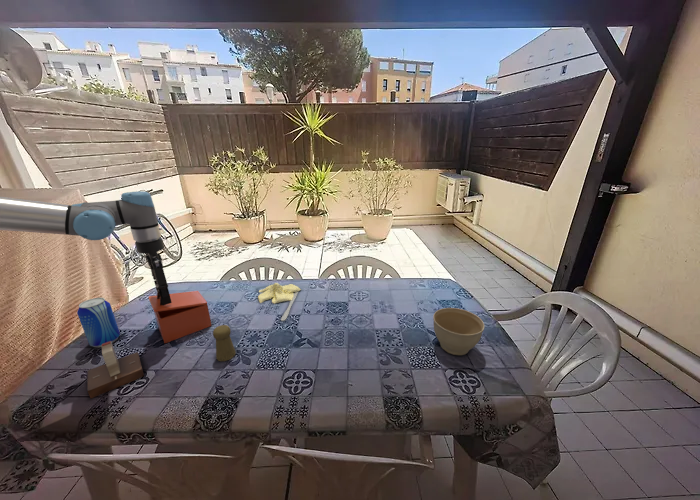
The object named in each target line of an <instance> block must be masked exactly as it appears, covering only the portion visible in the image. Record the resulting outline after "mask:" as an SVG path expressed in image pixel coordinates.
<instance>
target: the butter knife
mask: <svg viewBox="0 0 700 500" xmlns="http://www.w3.org/2000/svg"><path fill="white" fill-rule="evenodd" d="M293 294H294V296H293V299H292V300H289V304H288V306H287V308H286V310H285V311H284V313H283V314H282V316H281V318H280V321H281V322H284V321H286V319H287V318H288V316H289V314H290V311H291V309H292V305H293V304H294V302H295V301H296V300H295V299H296V298H297V296H298V294H299V291H296V292H293Z"/></svg>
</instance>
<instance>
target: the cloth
mask: <svg viewBox="0 0 700 500" xmlns="http://www.w3.org/2000/svg"><path fill="white" fill-rule="evenodd" d="M301 290H302V289H301V287H299V286H297V285H296V284H292V283H290V284H284V285H281V284H280V283H278V282H274V283H273V284H270V285H268V286H266V287H265V288H262V289H259V291H258V293H259V295H258V296H257V298H258V299H257V300H258V302H259V303H260V304H262V303H264V302H265V301H268V300H271V303H272V304H278V303H282V302H287V301H289V302H290V300H292V299H293V296H294V293H295V292H296V291H298V292H300V291H301Z"/></svg>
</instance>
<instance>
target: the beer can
mask: <svg viewBox="0 0 700 500" xmlns="http://www.w3.org/2000/svg"><path fill="white" fill-rule="evenodd" d="M76 314H77V316H78V319H79V322H80V325H81V327H82V330H83V332H84V335H85V337H86V340H87V342H88V343H87V344H88V345H89V346H90V347H93V348H102V344H103V343H106V342H109V341H111V342H112V344H113V343H115V342H117V340H119V337H120V335H121V331H120V329H119V327H118V322H117V320H116V317H115V314H114V311H113V308H112V305H111V303H110V302H109V301H107V300H106V298H105V297H93V298H90V299H86V300H84V301H82V302H81V303H79V304H78V309H77V311H76Z"/></svg>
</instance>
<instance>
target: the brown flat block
mask: <svg viewBox="0 0 700 500" xmlns="http://www.w3.org/2000/svg"><path fill="white" fill-rule="evenodd" d="M117 359H118V362H119V367H120V373H119V374H116V375H114V376H111V377H110V374H109V371H108V369H107V366H106V363H105V364H101V365H99V366H97V367H94V368H90V369H88V370H87V393H88V396H89V399H93V398H97V397H98V396H100V395H103V394H105V393H108V392H110V391H113V390H115V389H117V388H120V387H122V386H125V385H127V384H129V383H131V382H134V381H136V380H139V379H141V378H143V377H145V374H144V370H143V365H142V362H141V358H140V354H139V352H138V351H136V352H133V353H131V354H129V355H126V356H123V357H121V358H117Z"/></svg>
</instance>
